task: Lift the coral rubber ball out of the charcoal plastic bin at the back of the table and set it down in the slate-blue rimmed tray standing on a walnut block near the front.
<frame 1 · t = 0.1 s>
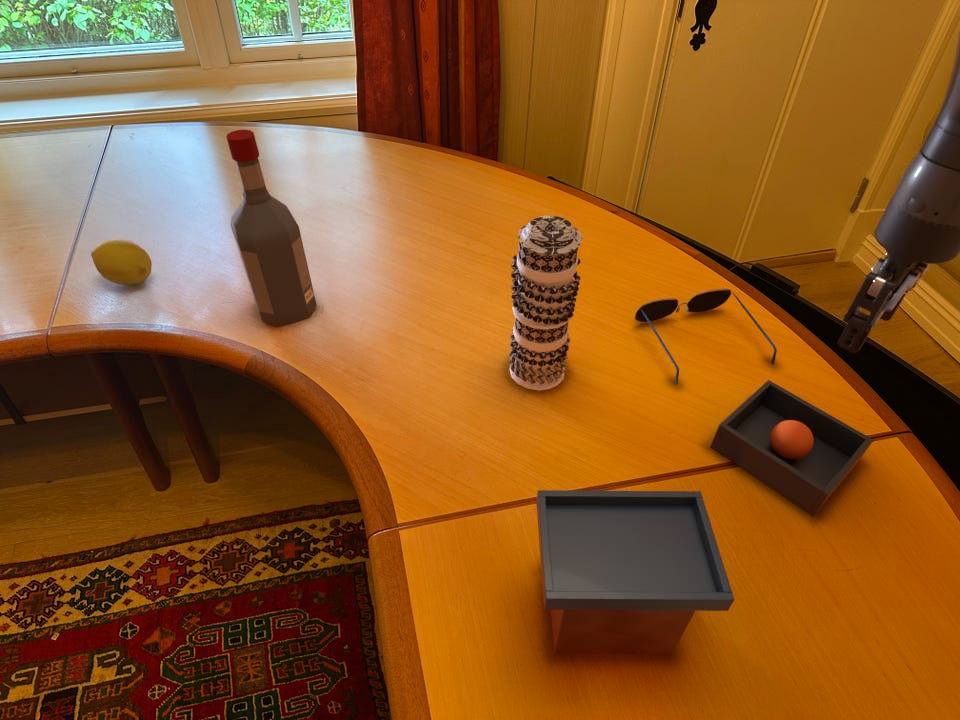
hand: (864, 332, 69), 19 cm above the table, tool pointing down, fingers open, 8 cm apart
sunglasses: (700, 344, 97), on the table
tray: (625, 552, 57), resting on stand
ball: (791, 439, 78), point 3 cm above the table, touching bin
stand: (606, 610, 65), on the table
decorative candle: (536, 371, 92), on the table
liquor: (287, 309, 103), on the table
lemon: (131, 281, 109), on the table
bin: (783, 454, 80), on the table
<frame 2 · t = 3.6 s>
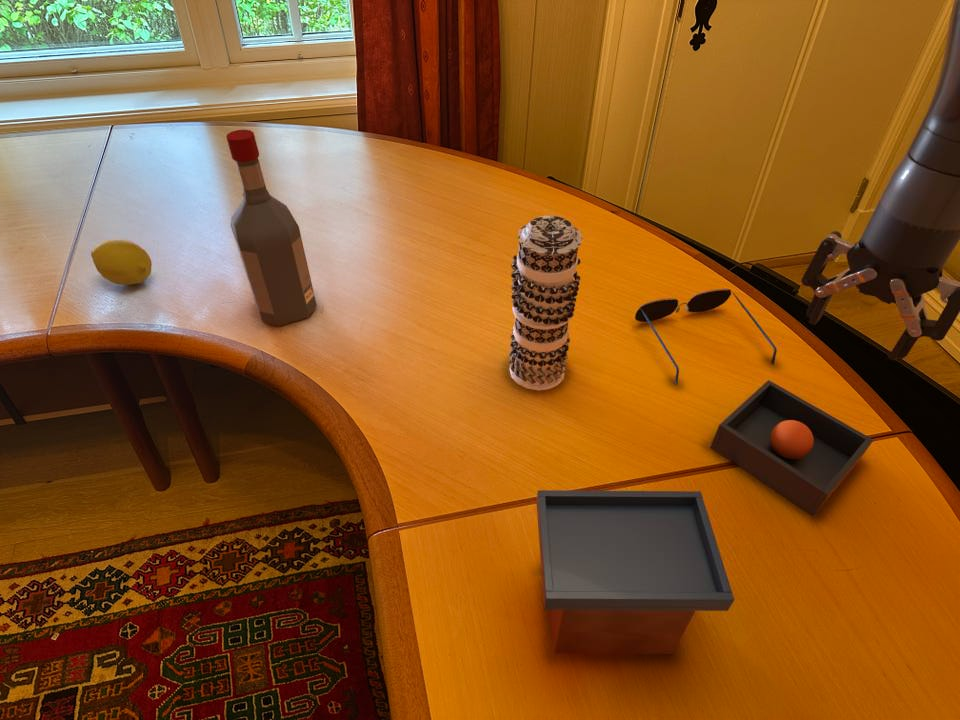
hand: (852, 338, 67), 20 cm above the table, tool pointing down, fingers open, 8 cm apart
nothing on the table moved.
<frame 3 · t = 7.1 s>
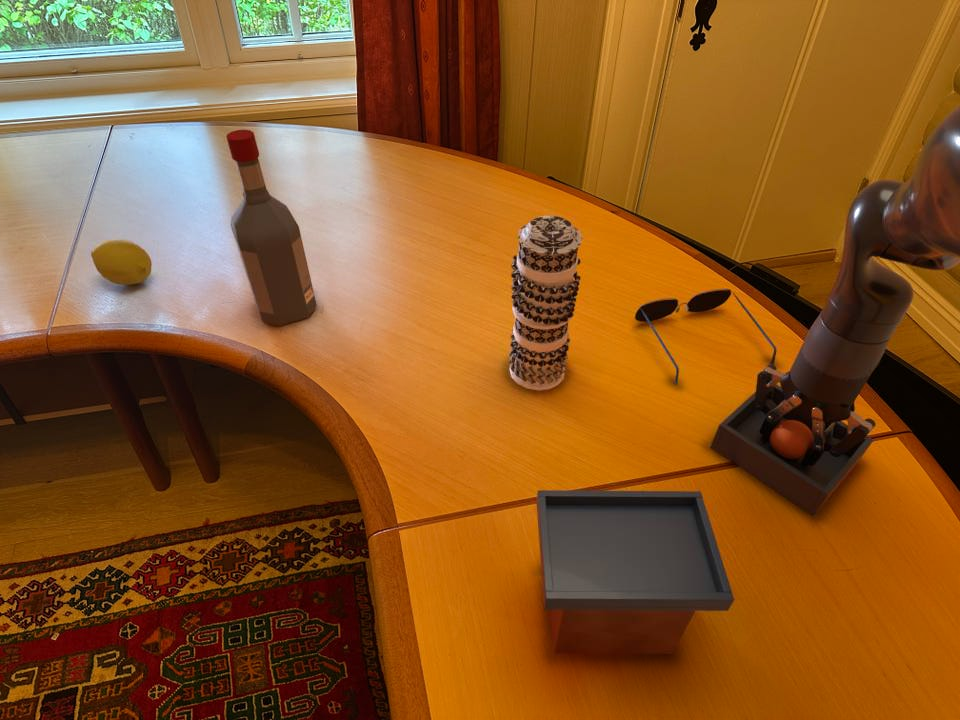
hand: (786, 449, 80), 1 cm above the table, tool pointing down, fingers closed on ball, 5 cm apart
ball: (791, 439, 78), point 3 cm above the table, touching bin, gripper
everything else where it was.
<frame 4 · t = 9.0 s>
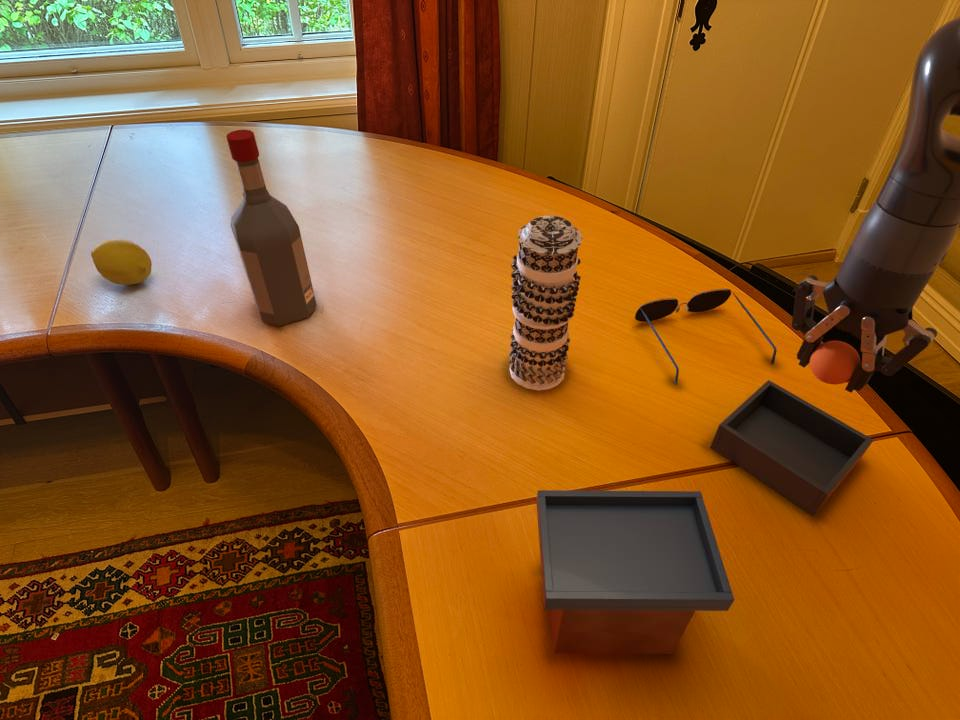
hand: (828, 375, 70), 15 cm above the table, tool pointing down, fingers closed on ball, 5 cm apart
ball: (834, 362, 69), point 17 cm above the table, touching gripper
everything else where it was.
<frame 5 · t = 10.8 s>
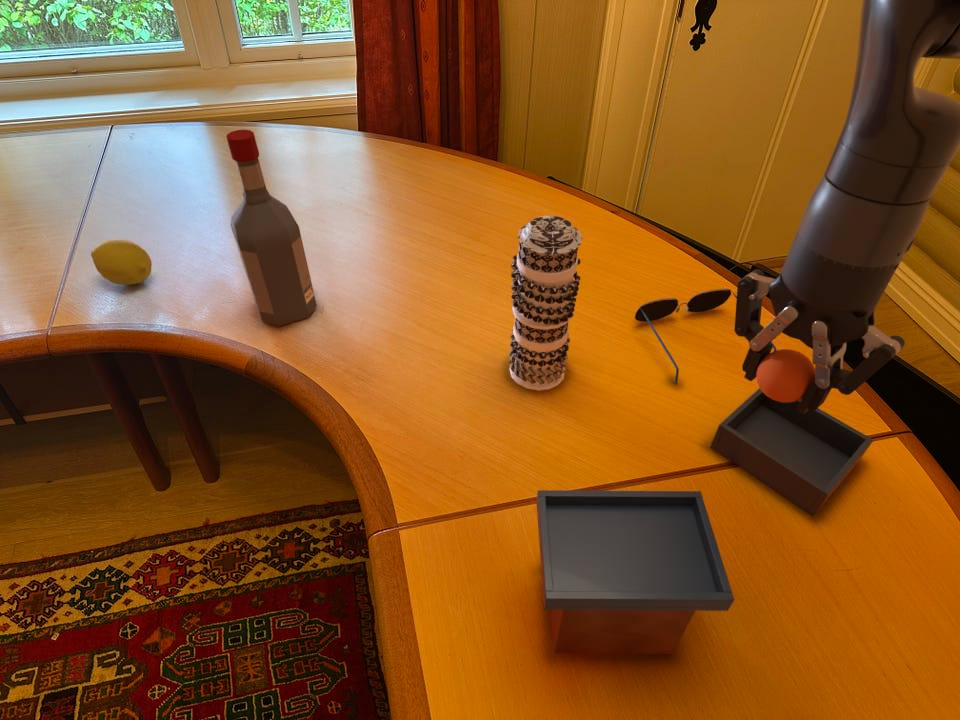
hand: (778, 390, 58), 22 cm above the table, tool pointing down, fingers closed on ball, 5 cm apart
ball: (785, 375, 57), point 24 cm above the table, touching gripper
everything else where it was.
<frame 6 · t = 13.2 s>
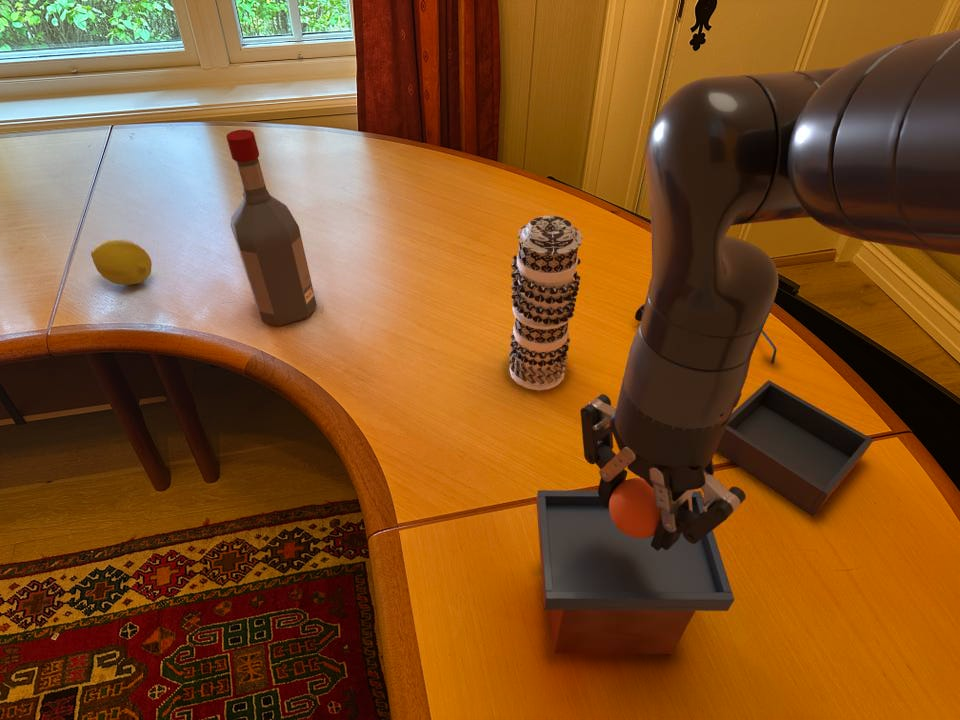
hand: (635, 520, 53), 18 cm above the table, tool pointing down, fingers closed on ball, 5 cm apart
ball: (639, 507, 51), point 20 cm above the table, touching gripper
everything else where it was.
when the fingers open (13 cm above the table, at t = 14.8 s): ball stays where it is, resting on tray.
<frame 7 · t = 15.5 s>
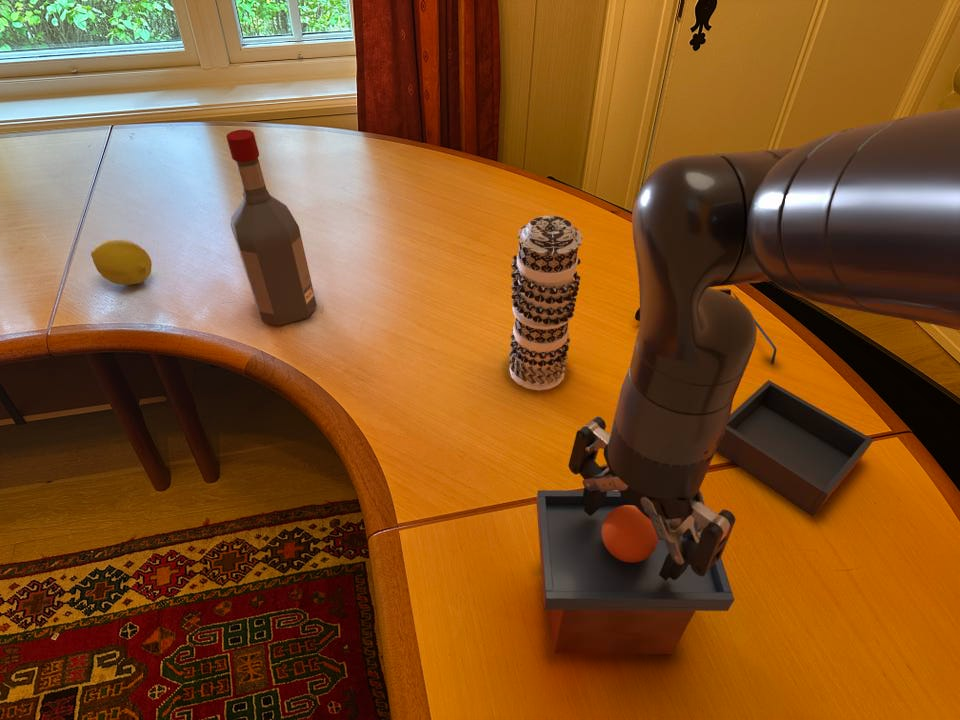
hand: (629, 539, 55), 14 cm above the table, tool pointing down, fingers open, 8 cm apart
ball: (629, 533, 55), point 15 cm above the table, touching tray
everything else where it was.
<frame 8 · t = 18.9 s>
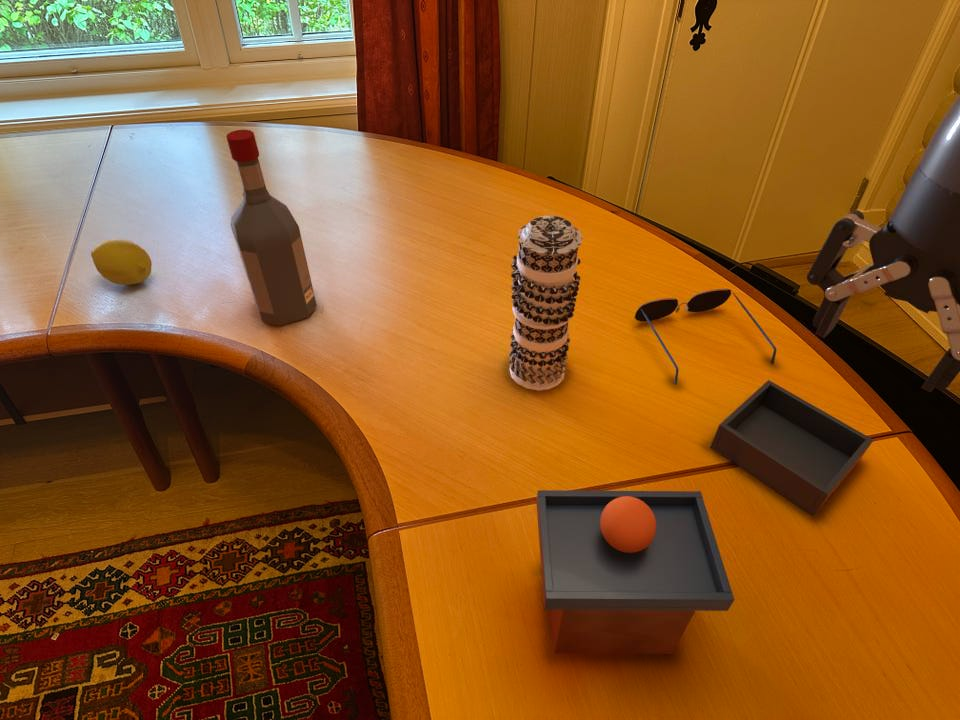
hand: (874, 357, 50), 30 cm above the table, tool pointing down, fingers open, 8 cm apart
ball: (627, 524, 55), point 15 cm above the table, tilted 27°, touching tray
everything else where it was.
at the end: ball inside the target area on the tray (1.1 cm from its centre), point 3.1 cm above the tray's base; the gripper is holding nothing; ball moved 35.5 cm from its start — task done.
